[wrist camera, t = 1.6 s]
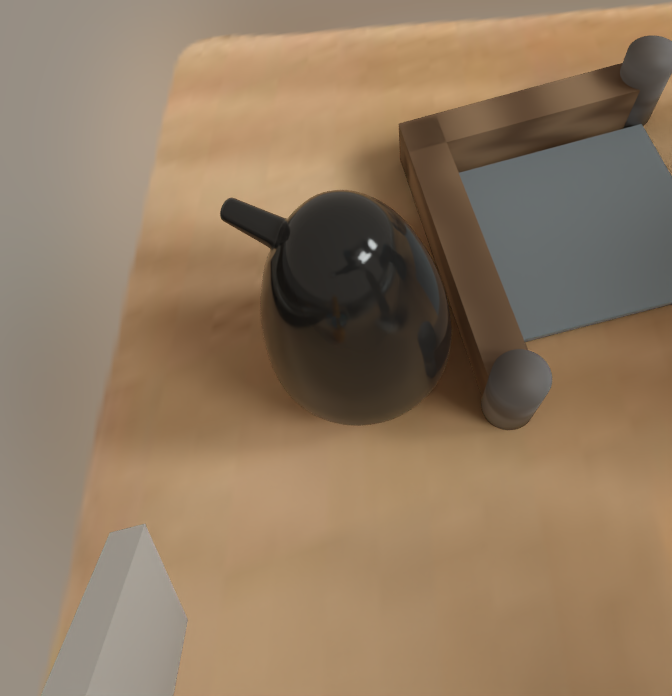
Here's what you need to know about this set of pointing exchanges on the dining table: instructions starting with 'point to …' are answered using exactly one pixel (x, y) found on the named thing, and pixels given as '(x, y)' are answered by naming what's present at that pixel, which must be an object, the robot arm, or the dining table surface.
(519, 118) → the wooden corner bracket
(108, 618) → the robot arm
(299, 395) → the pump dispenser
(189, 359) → the dining table surface
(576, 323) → the pad
